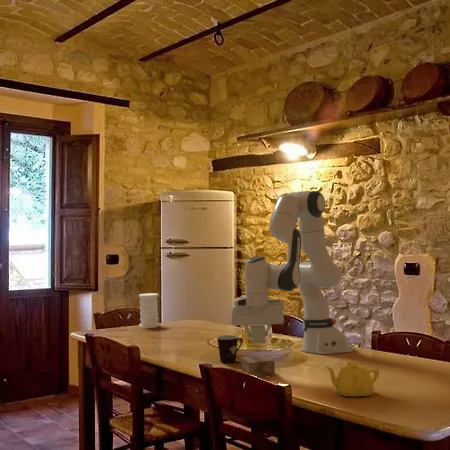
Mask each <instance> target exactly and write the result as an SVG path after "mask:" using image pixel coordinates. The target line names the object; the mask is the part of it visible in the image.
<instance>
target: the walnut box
mask: <svg viewBox="0 0 450 450" xmlns="http://www.w3.org/2000/svg"><path fill="white" fill-rule="evenodd" d="M240 358H241V359H240V360H241V361H240V362H241V363H240V364H241V366H240V367H241V372H242V371H243V372H246V373H248V374H251V375H254V376H257V377H261V378H267V377H266V376H271V377H275V376H276V375H275V374H276V372H275V368H276V367H275V360H274V359H273V358H271V357H269V356H268V355H267V354H262V355H251V356H241V357H240Z"/></svg>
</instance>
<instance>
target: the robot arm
mask: <svg viewBox="0 0 450 450" xmlns="http://www.w3.org/2000/svg"><path fill="white" fill-rule="evenodd" d="M325 209H326V199H325V196H324V195H323V193H321V192H320V191H316V190H312V191H307V190H306V191H303V190H301V191H297V192H290V193H283V194H281V195H279V196H278V198H276V200H275V206H274V207H273V209H272V211H271V212H272V213H271V216H270V217H269V223H268V229H269V232H270V234H271V235H272V236H273V237H274V238H275V239H276V240H278V241H279V242H282V243H285V244H287V256H286V261H285V263H283V264H270V263H269V262H267V259H266V257H264V256H253V257H249V258H247V259H246V261H245V265H244V266H245V267H244V283H245V289H244V290H245V291H244V295H241V296H240V297H235V298H234V299H233V306H232V308H231V312H230V324H231V325H232V326H243V328H244V329H245V331H246V336H247V338H249V337H250V338H251V331H250V330H249V326H250V325H266V328H265V337H269V331H270V329H271V327H272V325H282V324H284V322H285V317H284V312H283V311H284V310H285V303H284V301H283V300H281V299H279V298H277V299H271V298H270V299H269V290H278V291H280V290H281V291H285V292H292V291H293V290H295V289H296V288H298V291H300V295H301V298H302V304H303V318H302V329H303V330H302V331H303V339H302V344H301V351H302V352H305V353H311V354H317V355H327V354H330V355H331V354H340V353H341V354H342V353H351V352H354V348H353V346H352V345H350V344H349V343H348V338H347V337H346V334H344V333H343V331H341V330H340V329H338V328H337V327H336V326H334V325H336V324H337V323H338V322H337V320H336V319H333V318H331V317H330V302H329V299H328V298H327V297H326V296H325V295H324V293H323V291H322V289H321V288H323V289H328V288H334V287H336V286H338V285H339V284H340V282H341V280H342V272H341V269H340V267H339V266H338V265H337V264H336V263H335V262H334V261H333V260H332V258H331V255H330V253H329V252H328V248H327V242H326V234H325V225H324V224H325V223H324V219H323V215H322V214H323V213H324V211H325ZM297 225H298V227H297ZM297 228H298V229H297ZM301 251H302V253H304V254H305V255H306V257H307V258H308V260H309V261H301Z"/></svg>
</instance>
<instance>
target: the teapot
mask: <svg viewBox="0 0 450 450" xmlns="http://www.w3.org/2000/svg"><path fill="white" fill-rule="evenodd" d="M325 368H326V369H327V370H328V371H329V374H330V381H331V383H332V385H333V386H334V387H335V388H336V390H337V391H338V393H339V395H341V396H342V395H344V396H343V397H345V396H366V397H370V396H371V395H373V392H374V390H375V387H374V383H375V382H376V381H377V379H378V377H379V375H380V370H379V369H377V368H371V369H367V368H366V367H365V366H361V365H359V364H358V363H352V362H351V360H350V359H349V358H347V359H346V366H342V367H340V370H339V372H338V374H337V377H336V375H335V371H334V369H333V368H332V367H331V366H330V367H329V366H325ZM370 373H374V375H373V377H372V376H371V374H370ZM369 395H370V396H369Z"/></svg>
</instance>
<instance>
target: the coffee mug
mask: <svg viewBox="0 0 450 450" xmlns="http://www.w3.org/2000/svg"><path fill="white" fill-rule="evenodd" d="M216 339H217V346H218V354H219V359H220V360H219V361H220V363H223V364H233V363H236V362H237V355H238V354H237V353H238V351H239V349H240V348H241V347H242V344H243V340H242V338H241V337H238V336H237V335H228V334H227V335H226V334H225V335H219V336H217V337H216ZM238 340H240V344H239V346H238Z"/></svg>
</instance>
